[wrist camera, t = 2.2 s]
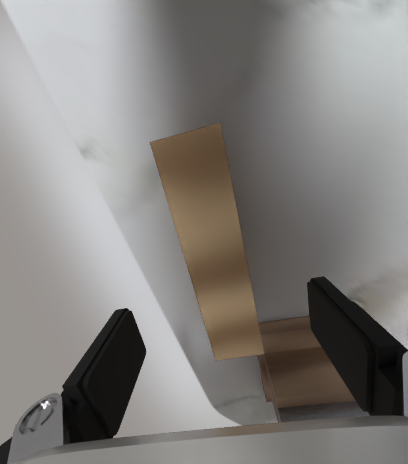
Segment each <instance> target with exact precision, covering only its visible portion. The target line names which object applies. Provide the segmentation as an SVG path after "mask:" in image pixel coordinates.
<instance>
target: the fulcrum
mask: <svg viewBox="0 0 408 464" xmlns="http://www.w3.org/2000/svg"><path fill="white" fill-rule="evenodd" d="M366 313H367V312H366ZM367 314H368V313H367ZM368 315H369V314H368ZM259 329H260V334H261V339H262V344H263V350H264V354H261V355H258V359H259V365H260V370H261V376H262V382H263V388H264V392H265V397H266V401H267V402H270V401H273V405H274V409H275V412H276V416H277V420H278V423H281V422H292V421H304V420H315V419H329V418H344V417H359V416H370V415H369V413H368V412H364V411H362V409H361V408H360V407H359V405H358V404H357V402H356V400H355V399H354V397H353V396H352V394H351V393H350V391H349V389H348V388H347V386H346V385H345V383H344V382H343V380H342V378H341V377H340V375H339V374H338V372H337V370H336V369H335V367H334V366H333V364H332V363H331V361H330V359H329V358H328V356H327V355H326V353H325V351H324V350H323V348H322V347H321V345H320V344H319V342H318V340H317V339H316V337H315V336H314V334H313V332H312V330H311V327H310V316H307V317H300V318H293V319H285V320H278V321H271V322H264V323H259Z"/></svg>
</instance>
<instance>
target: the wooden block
mask: <svg viewBox="0 0 408 464" xmlns="http://www.w3.org/2000/svg"><path fill="white" fill-rule="evenodd" d="M150 145H151V148H152V151H153V155H154V158H155V161H156V165H157V168H158V171H159V175H160V178H161V181H162V185H163V188H164V191H165V194H166V198H167V201H168V204H169V208H170V211H171V214H172V218H173V221H174V224H175V228H176V231H177V234H178V237H179V241H180V244H181V247H182V251H183V254H184V257H185V261H186V264H187V267H188V271H189V274H190V277H191V280H192V284H193V287H194V290H195V294H196V297H197V300H198V304H199V307H200V310H201V314H202V317H203V320H204V323H205V327H206V330H207V333H208V337H209V340H210V343H211V347H212V350H213V353H214V357H215V360H216V361H218V360H225V359H232V358H239V357H246V356H253V355H261V354H264V350H263V344H262V339H261V334H260V329H259V323H258V318H257V313H256V308H255V302H254V297H253V292H252V287H251V281H250V276H249V271H248V265H247V260H246V255H245V250H244V244H243V239H242V234H241V229H240V223H239V218H238V213H237V208H236V202H235V197H234V192H233V187H232V181H231V176H230V171H229V165H228V160H227V155H226V150H225V144H224V139H223V134H222V129H221V123H217V124H214V125H210V126H207V127H203V128H199V129H196V130H192V131H189V132H185V133H181V134H178V135H174V136H171V137H167V138H163V139H160V140H156V141H153V142H150Z"/></svg>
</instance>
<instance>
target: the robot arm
mask: <svg viewBox="0 0 408 464" xmlns="http://www.w3.org/2000/svg"><path fill="white" fill-rule="evenodd" d="M307 288H308V302H309V316H310V327H311V330H312V332H313V334H314V336H315V337H316V339H317V340H318V342H319V344H320V345H321V347H322V348H323V350H324V351H325V353H326V355H327V356H328V358H329V359H330V361H331V363H332V364H333V366H334V367H335V369H336V370H337V372H338V374H339V375H340V377H341V378H342V380H343V382H344V383H345V385H346V386H347V388H348V389H349V391H350V393H351V394H352V396H353V397H354V399H355V400H356V402H357V404H358V405H359V407H360V408H361V409H362V411H364V412H368V413H369V415H370V416H359V417H344V418H329V419H315V420H304V421H292V422H281V423H269V424H258V425H246V426H236V427H225V428H214V429H204V430H193V431H183V432H172V433H162V434H152V435H142V436H132V437H122V438H113V436H114V435H116V434H117V432H118V430H119V428H120V425H121V422H122V419H123V417H124V414H125V411H126V408H127V406H128V403H129V400H130V397H131V394H132V392H133V389H134V386H135V383H136V381H137V378H138V375H139V372H140V369H141V367H142V364H143V361H144V358H145V355H146V348H145V345H144V342H143V340H142V337H141V334H140V332H139V329H138V327H137V324H136V321H135V319H134V316H133V313H132V311H129V309H127V308H125V309H119V310H116V311H115V312H114V313H113V314H112V316H111V317H110V319H109V320H108V322H107V323H106V324H105V326H104V327H103V329H102V330H101V332H100V333H99V335H98V336H97V337H96V339H95V340H94V342H93V343H92V344H91V346H90V348H89V349H88V350H87V352H86V353H85V354H84V356H83V357H82V359H81V360H80V362H79V363H78V365H77V366H76V368H75V369H74V370H73V372H72V373H71V374H70V376H69V377H68V379H67V380H66V382H65V383H64V384H63V386H62V387H63V389H64V390H63V392H62V394H61V395H59V394H58V393H53V394H50V395H47V396H45V397H43V398H42V399H40V400H39V401H37V402H36V403H35V404H33V405H32V406H31V407H30V408H29V409H28V410H27V411H26V412H25V413H24V414H23V416H22V417H21V418H20V420H19V421H18V423H17V424H16V426H15V429H14V432H13V437H11V438H10V439H9V440H7V441H6V442H5V443H3V444H2V445H1V446H0V464H408V350H407V349H406V348H405V347H404V346H403V345H402V344H401V343H400V342H398V341H397V340H396V339H395V338H394V337H393V336H392V335H391V334H390V333H388V332H387V331H386V330H385V329H384V328H383V327H382V326H381V325H380V324H378V323H377V322H376V321H375V320H374V319H373V318H372V317H371V316H370V315H368V314H367V313H366V312H365V311H364V310H363V309H362V308H361V307H360V306H359V305H357V304H356V303H355V302H352V301H350V300H349V299H348V298H347V297H346V296H345V295H344V294H342V293H341V292H340V291H339V290H338V289H337V288H336V287H335V286H334V285H333V284H332V283H331V282H329V281H328V280H327V279H326V278H325V277H317V278H311V280H310V282H308V283H307Z"/></svg>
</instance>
